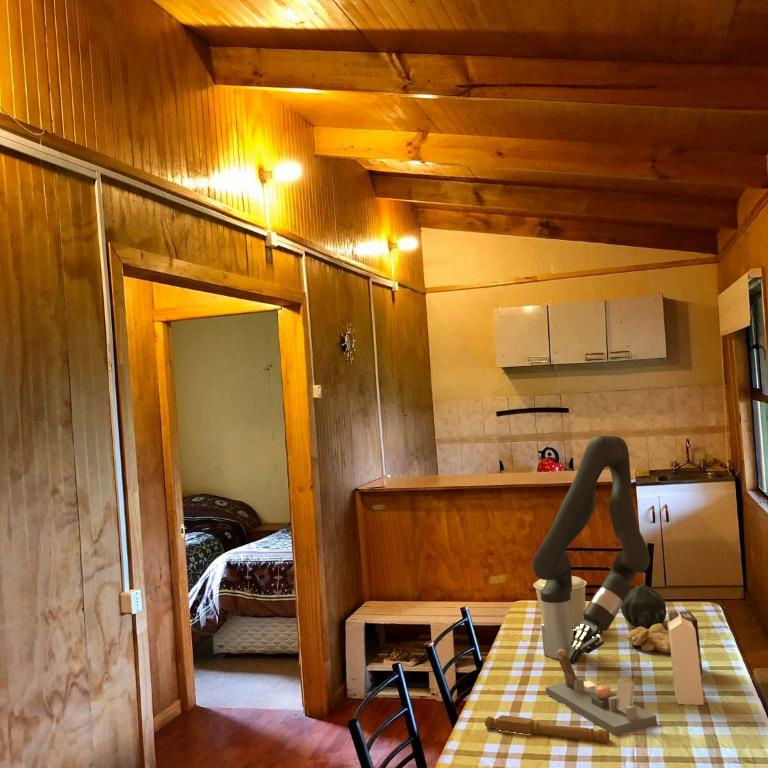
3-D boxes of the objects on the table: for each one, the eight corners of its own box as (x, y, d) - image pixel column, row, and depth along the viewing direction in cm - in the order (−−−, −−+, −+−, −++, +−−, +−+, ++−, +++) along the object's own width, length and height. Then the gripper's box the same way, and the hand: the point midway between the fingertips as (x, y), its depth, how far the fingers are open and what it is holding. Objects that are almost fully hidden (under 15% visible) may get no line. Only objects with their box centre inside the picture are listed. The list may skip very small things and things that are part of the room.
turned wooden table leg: (606, 733, 167) (482, 718, 181) (607, 746, 167) (483, 730, 181) (608, 727, 170) (486, 713, 184) (610, 740, 170) (488, 725, 184)
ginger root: (626, 634, 239) (629, 611, 238) (677, 648, 232) (681, 624, 232) (618, 652, 225) (622, 627, 224) (673, 667, 218) (677, 642, 218)
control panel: (583, 685, 203) (581, 666, 204) (656, 724, 175) (654, 702, 175) (546, 694, 199) (544, 675, 199) (615, 735, 171) (612, 714, 171)
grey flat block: (618, 707, 180) (621, 678, 181) (631, 714, 175) (634, 684, 176) (615, 707, 180) (618, 678, 181) (628, 714, 175) (631, 684, 176)
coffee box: (704, 679, 199) (697, 619, 200) (679, 680, 201) (673, 620, 201) (697, 667, 208) (690, 610, 209) (673, 668, 210) (667, 611, 210)
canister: (550, 621, 266) (544, 563, 267) (599, 626, 255) (592, 565, 256) (529, 636, 251) (523, 574, 252) (580, 641, 240) (573, 577, 241)
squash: (638, 599, 264) (621, 574, 258) (678, 606, 253) (662, 580, 246) (625, 633, 257) (607, 608, 250) (666, 642, 246) (649, 616, 239)
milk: (678, 705, 185) (668, 617, 186) (675, 695, 191) (665, 610, 192) (704, 705, 183) (693, 616, 184) (700, 695, 189) (690, 609, 190)
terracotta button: (605, 691, 187) (604, 683, 187) (613, 696, 183) (612, 688, 184) (593, 694, 186) (592, 686, 186) (601, 699, 182) (600, 691, 182)
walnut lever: (574, 681, 198) (560, 645, 198) (581, 684, 196) (566, 648, 195) (567, 685, 198) (553, 650, 197) (573, 689, 195) (559, 653, 194)
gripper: (579, 596, 207) (547, 648, 202) (608, 605, 194) (574, 661, 190) (597, 611, 208) (565, 663, 204) (627, 622, 196) (593, 678, 191)
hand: (569, 662), depth 197 cm, fingers closed
